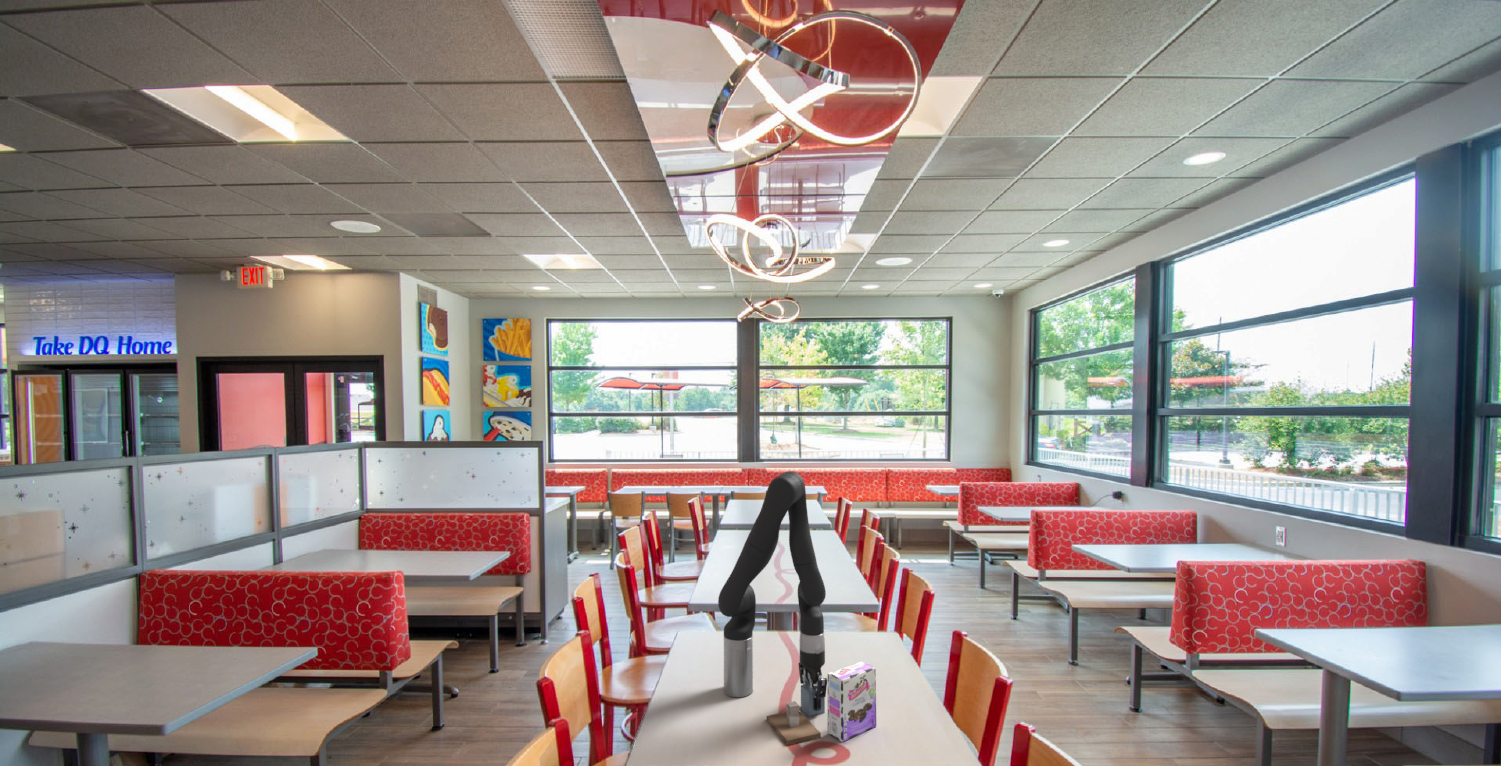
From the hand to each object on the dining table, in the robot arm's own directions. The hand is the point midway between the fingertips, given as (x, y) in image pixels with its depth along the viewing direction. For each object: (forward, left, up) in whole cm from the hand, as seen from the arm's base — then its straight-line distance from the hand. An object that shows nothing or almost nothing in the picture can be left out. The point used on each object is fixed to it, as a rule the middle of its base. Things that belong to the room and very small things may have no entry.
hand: (812, 705), depth 176 cm
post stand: (+7, -10, -1) cm, 12 cm away
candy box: (+14, +5, -2) cm, 15 cm away
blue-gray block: (0, 0, -1) cm, 1 cm away
